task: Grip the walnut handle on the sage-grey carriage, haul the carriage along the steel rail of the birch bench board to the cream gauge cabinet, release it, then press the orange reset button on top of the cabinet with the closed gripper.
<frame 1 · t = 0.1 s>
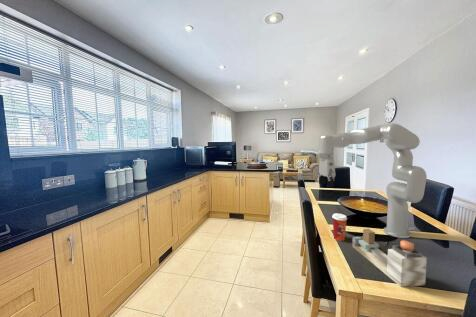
hand: (325, 185, 110), 31 cm above the table, tool pointing down, fingers open, 9 cm apart
paper cup: (339, 239, 109), on the table
carriage: (368, 239, 96), point 6 cm above the table, slide at 0.0 cm
reset button: (406, 245, 75), point 15 cm above the table, slide at 0.0 cm
track: (382, 262, 87), on the table
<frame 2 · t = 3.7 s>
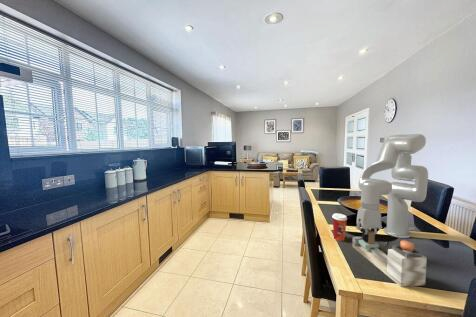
hand: (368, 240, 96), 6 cm above the table, tool pointing down, fingers closed on carriage, 3 cm apart
carriage: (368, 239, 96), point 6 cm above the table, slide at 0.0 cm, touching gripper
everything else where it was.
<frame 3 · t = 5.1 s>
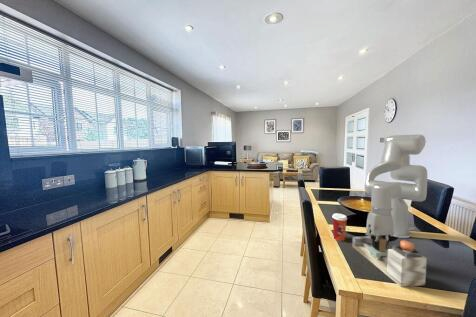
hand: (379, 247, 89), 6 cm above the table, tool pointing down, fingers closed on carriage, 3 cm apart
carriage: (379, 246, 89), point 6 cm above the table, slide at 6.8 cm, touching gripper
everything else where it was.
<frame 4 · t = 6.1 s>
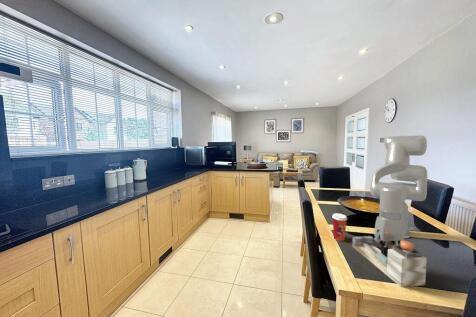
hand: (388, 254, 84), 6 cm above the table, tool pointing down, fingers closed on carriage, 3 cm apart
carriage: (388, 253, 84), point 6 cm above the table, slide at 11.9 cm, touching gripper
everything else where it was.
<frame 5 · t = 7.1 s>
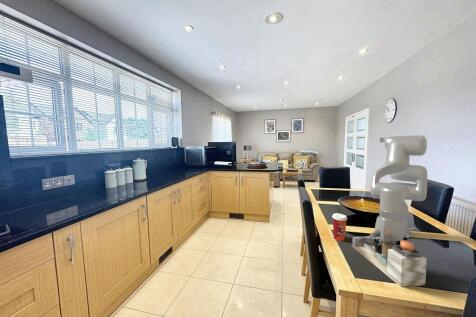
hand: (388, 251, 84), 7 cm above the table, tool pointing down, fingers open, 9 cm apart
carriage: (388, 253, 84), point 6 cm above the table, slide at 12.0 cm
everything else where it was.
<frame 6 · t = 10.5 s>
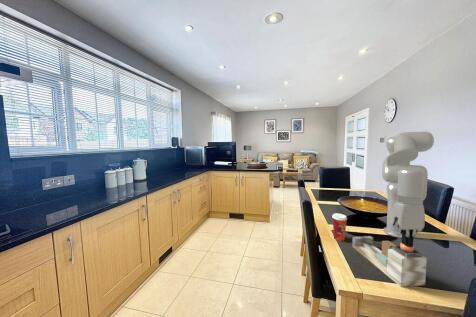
hand: (407, 245, 75), 15 cm above the table, tool pointing down, fingers closed
reset button: (406, 247, 75), point 14 cm above the table, slide at 0.8 cm, touching gripper
everything else where it was.
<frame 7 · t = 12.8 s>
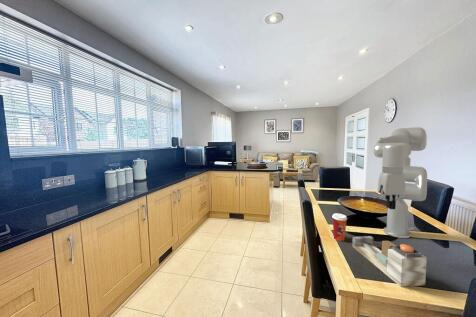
hand: (390, 208, 89), 24 cm above the table, tool pointing down, fingers closed
reset button: (406, 249, 75), point 13 cm above the table, slide at 1.6 cm
everything else where it was.
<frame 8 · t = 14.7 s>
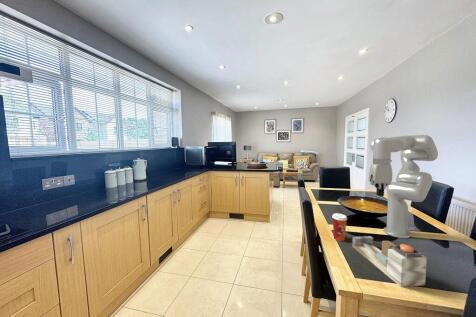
hand: (380, 195, 101), 27 cm above the table, tool pointing down, fingers closed
nothing on the table moved.
at the end: carriage slide at 12.0 cm; reset button slide at 1.6 cm; the gripper is holding nothing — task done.
